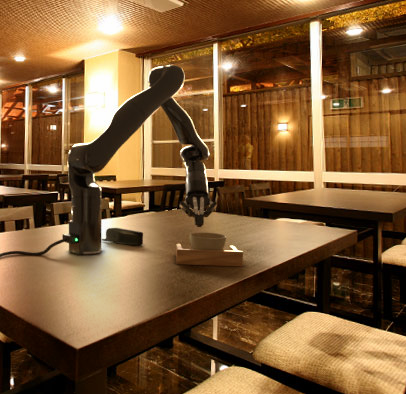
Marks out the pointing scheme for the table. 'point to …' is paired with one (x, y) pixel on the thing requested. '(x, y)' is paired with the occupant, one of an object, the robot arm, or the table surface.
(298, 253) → the table surface
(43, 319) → the table surface
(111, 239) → the black rounded block
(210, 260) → the low wooden tray
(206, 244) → the flower pot
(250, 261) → the table surface
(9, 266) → the table surface
